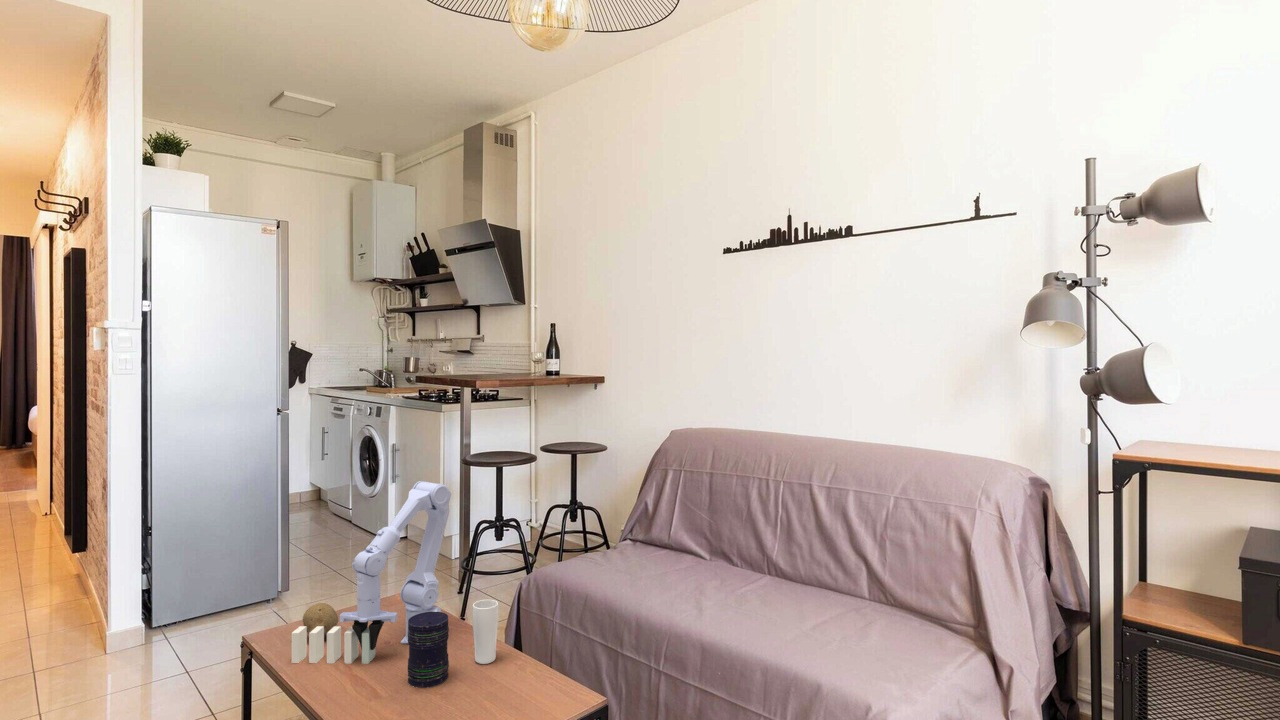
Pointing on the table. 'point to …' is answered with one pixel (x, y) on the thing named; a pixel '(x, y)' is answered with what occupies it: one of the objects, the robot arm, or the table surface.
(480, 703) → the table surface
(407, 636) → the robot arm
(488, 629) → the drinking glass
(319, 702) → the table surface
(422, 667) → the dark blue cylinder
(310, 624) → the natural sponge
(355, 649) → the domino
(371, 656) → the domino
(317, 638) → the domino
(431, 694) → the table surface
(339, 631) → the domino
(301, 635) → the domino
